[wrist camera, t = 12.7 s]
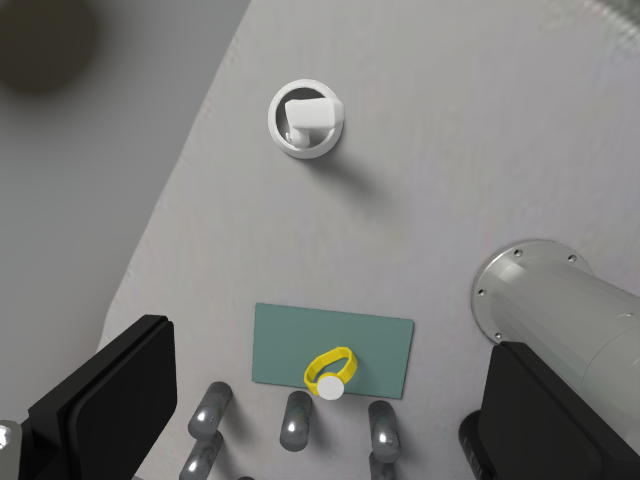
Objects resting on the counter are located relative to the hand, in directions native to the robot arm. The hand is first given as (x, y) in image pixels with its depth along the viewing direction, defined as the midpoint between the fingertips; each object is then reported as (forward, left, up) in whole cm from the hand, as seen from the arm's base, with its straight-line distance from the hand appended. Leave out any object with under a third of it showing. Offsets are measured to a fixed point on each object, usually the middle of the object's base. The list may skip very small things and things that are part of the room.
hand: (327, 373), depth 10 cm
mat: (-1, +16, -28) cm, 32 cm away
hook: (+4, -9, -28) cm, 30 cm away
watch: (-1, +16, -27) cm, 32 cm away
